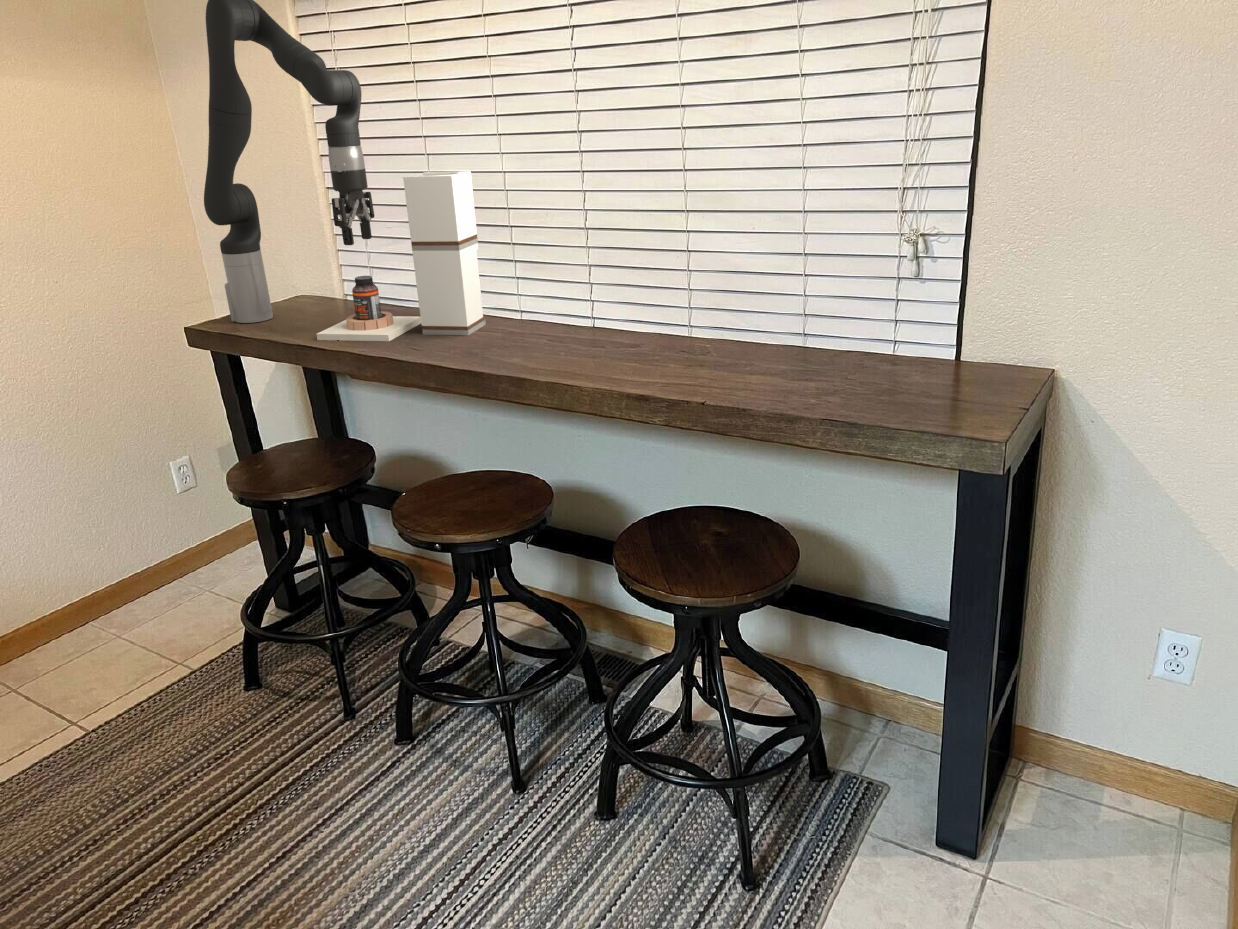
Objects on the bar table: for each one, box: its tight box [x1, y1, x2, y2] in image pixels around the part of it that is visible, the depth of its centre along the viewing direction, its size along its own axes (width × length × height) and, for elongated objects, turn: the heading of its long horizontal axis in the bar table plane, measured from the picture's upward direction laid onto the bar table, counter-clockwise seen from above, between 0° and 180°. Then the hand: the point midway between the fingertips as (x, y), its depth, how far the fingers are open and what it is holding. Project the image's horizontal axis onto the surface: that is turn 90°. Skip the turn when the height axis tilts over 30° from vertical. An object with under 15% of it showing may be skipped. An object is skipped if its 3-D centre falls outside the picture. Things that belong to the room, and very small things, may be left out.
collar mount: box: [316, 311, 422, 342], centre depth 217 cm, size 18×18×4 cm
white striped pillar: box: [402, 170, 486, 336], centre depth 209 cm, size 11×11×35 cm
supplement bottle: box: [351, 275, 382, 320], centre depth 215 cm, size 6×6×11 cm
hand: (358, 241), depth 209 cm, fingers open, 8 cm apart
